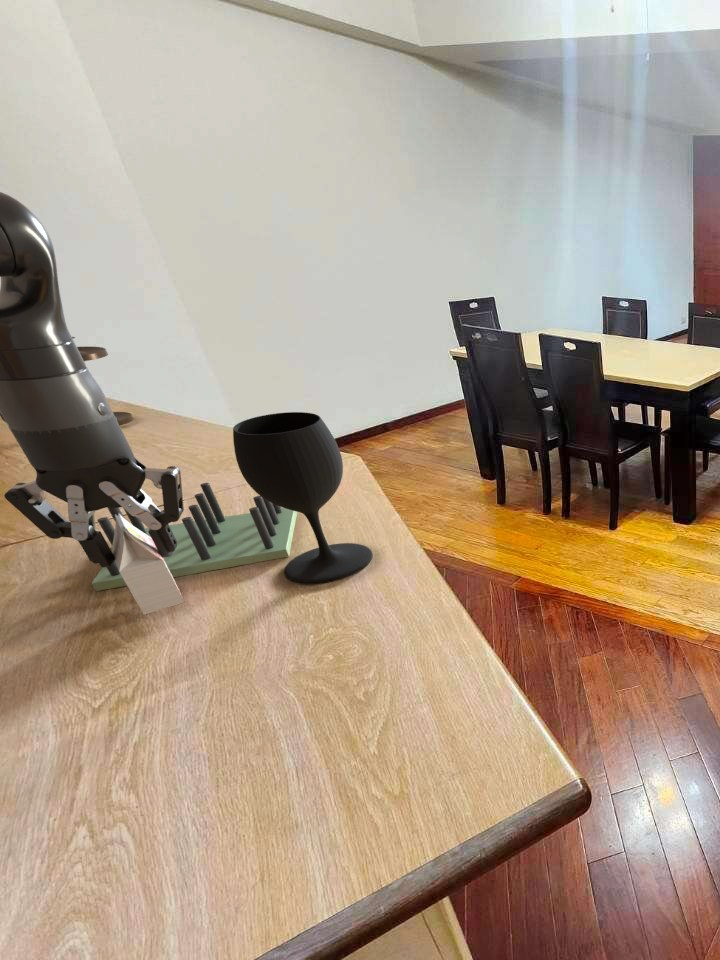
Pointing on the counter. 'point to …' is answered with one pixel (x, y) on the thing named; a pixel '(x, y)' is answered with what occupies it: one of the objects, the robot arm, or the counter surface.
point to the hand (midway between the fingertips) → (138, 558)
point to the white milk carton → (143, 568)
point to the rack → (214, 538)
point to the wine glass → (299, 485)
